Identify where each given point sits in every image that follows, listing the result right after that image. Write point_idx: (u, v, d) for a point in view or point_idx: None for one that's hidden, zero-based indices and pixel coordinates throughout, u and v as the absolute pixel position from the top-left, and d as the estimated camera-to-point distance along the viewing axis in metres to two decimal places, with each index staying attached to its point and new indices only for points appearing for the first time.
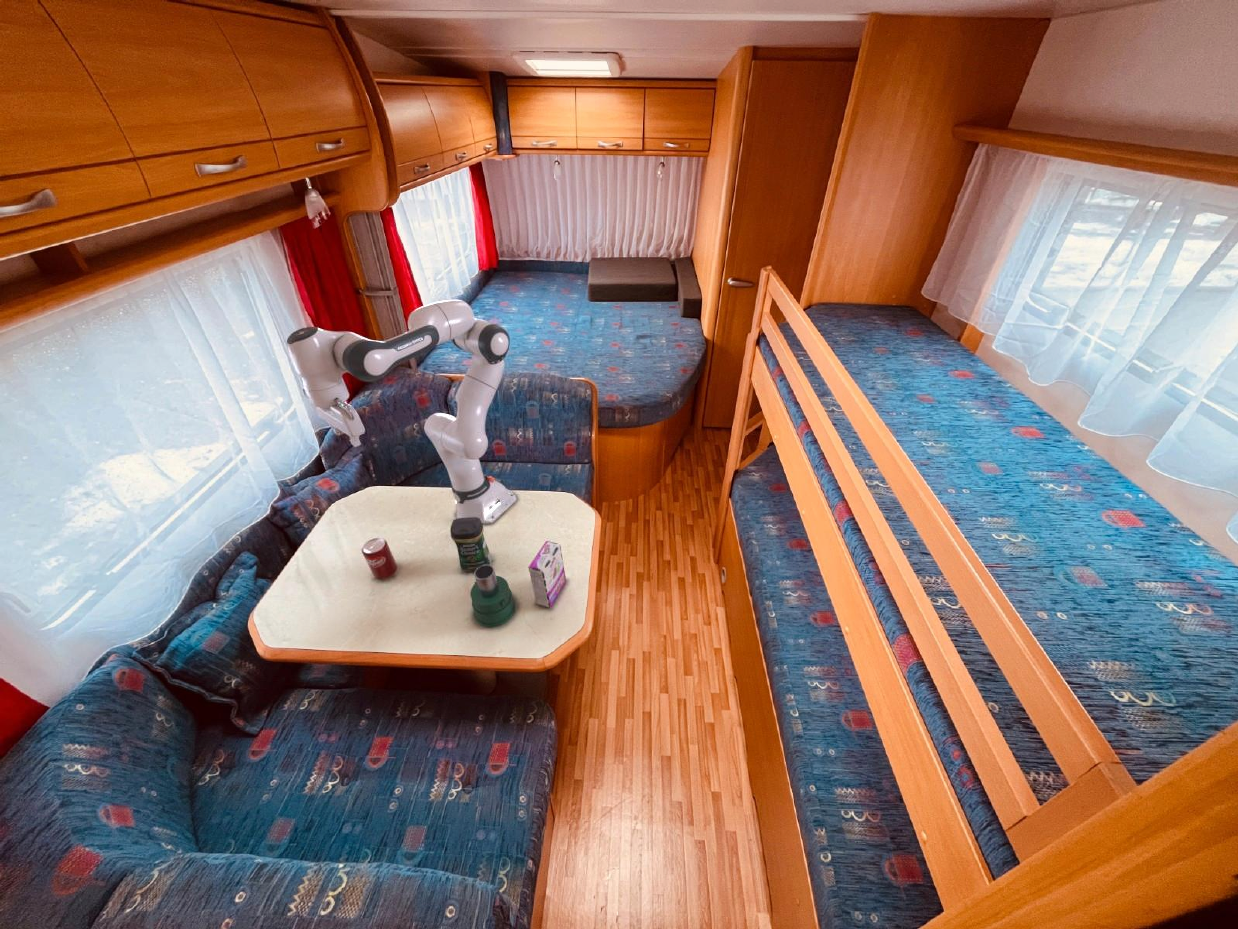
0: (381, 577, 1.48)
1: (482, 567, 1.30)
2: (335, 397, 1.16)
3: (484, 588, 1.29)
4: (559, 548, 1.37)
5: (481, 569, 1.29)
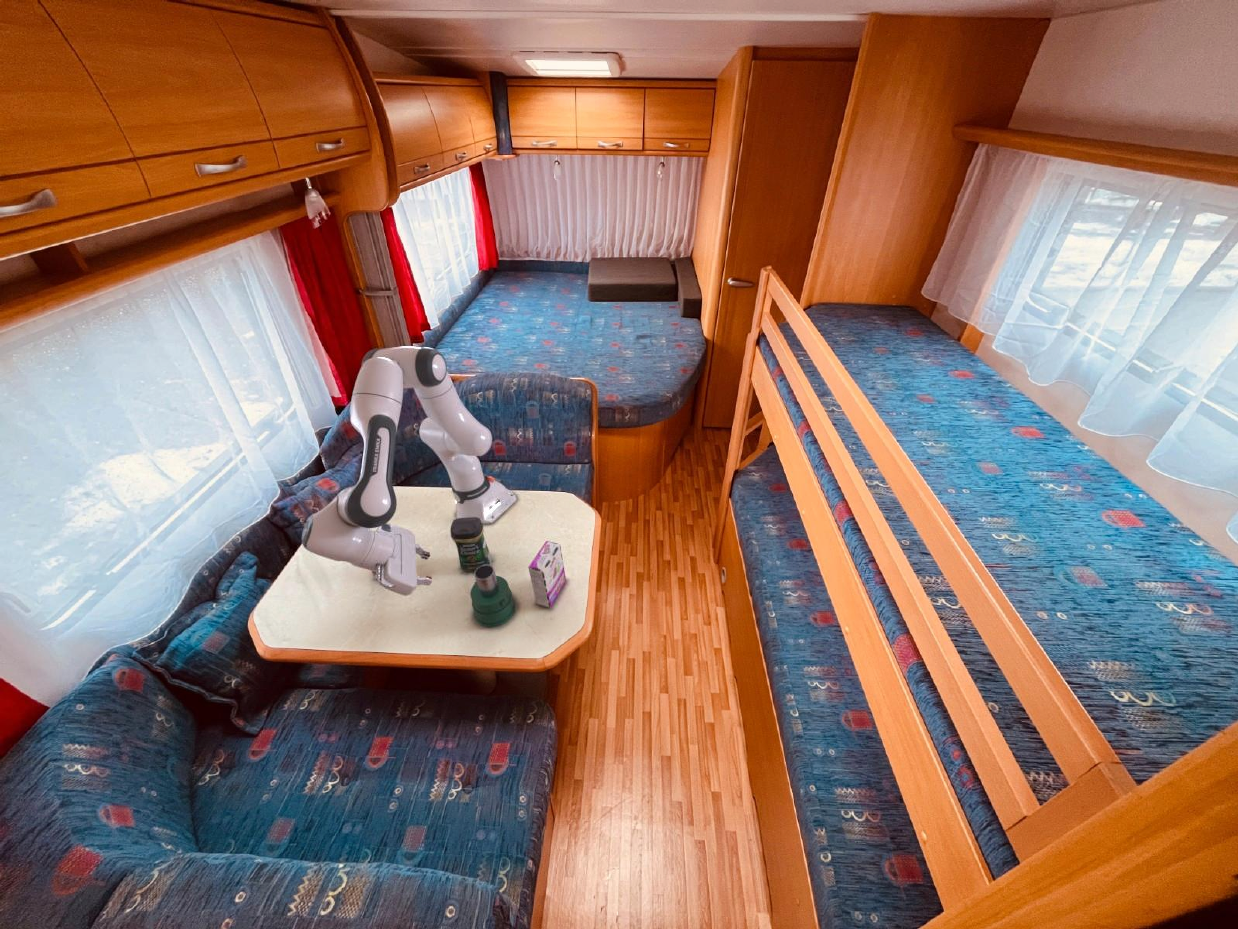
0: None
1: (482, 567, 1.30)
2: (375, 564, 1.09)
3: (484, 588, 1.29)
4: (559, 548, 1.37)
5: (481, 569, 1.29)
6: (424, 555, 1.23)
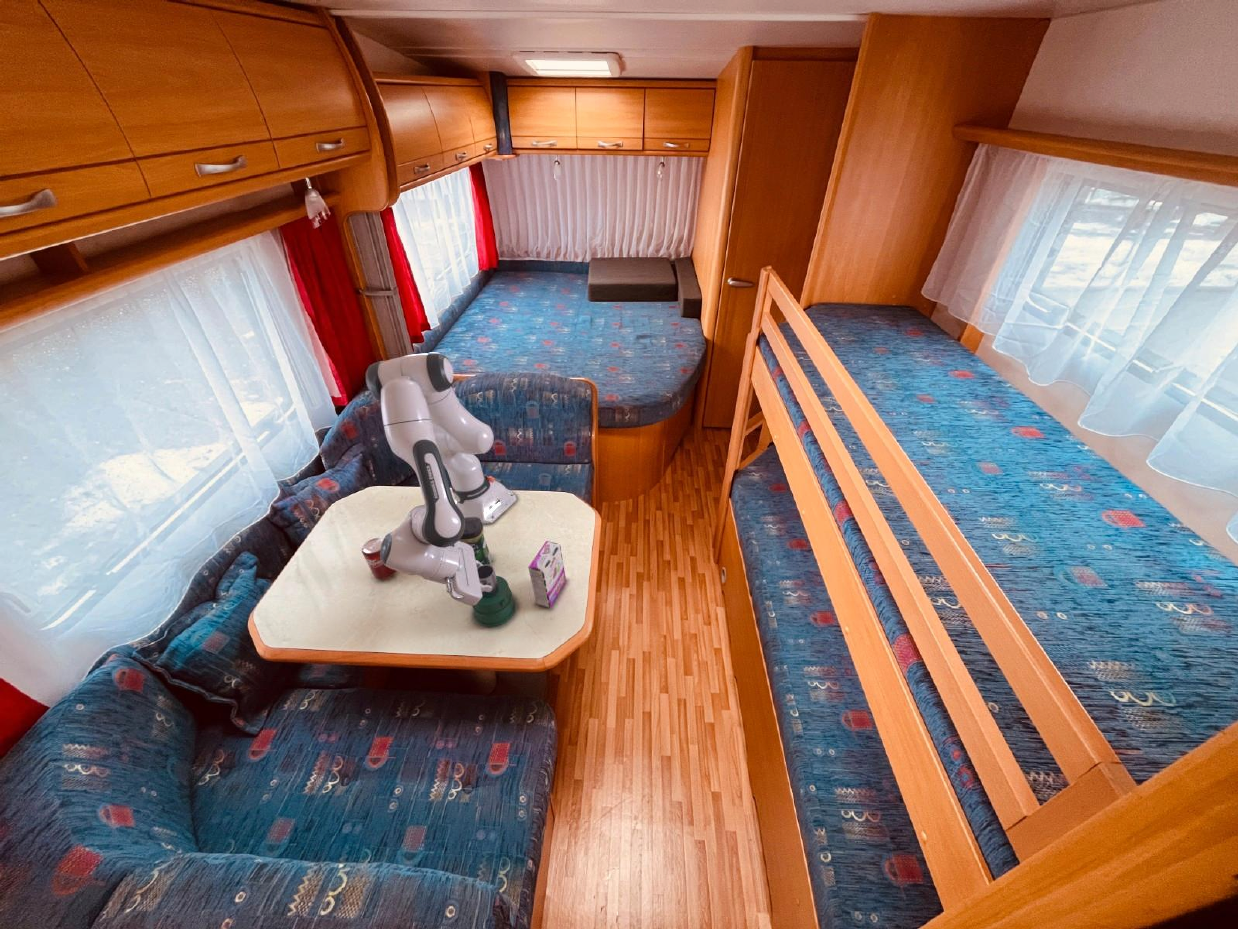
0: (381, 577, 1.48)
1: (482, 567, 1.30)
2: (444, 577, 1.19)
3: None
4: (559, 548, 1.37)
5: (481, 569, 1.29)
6: None
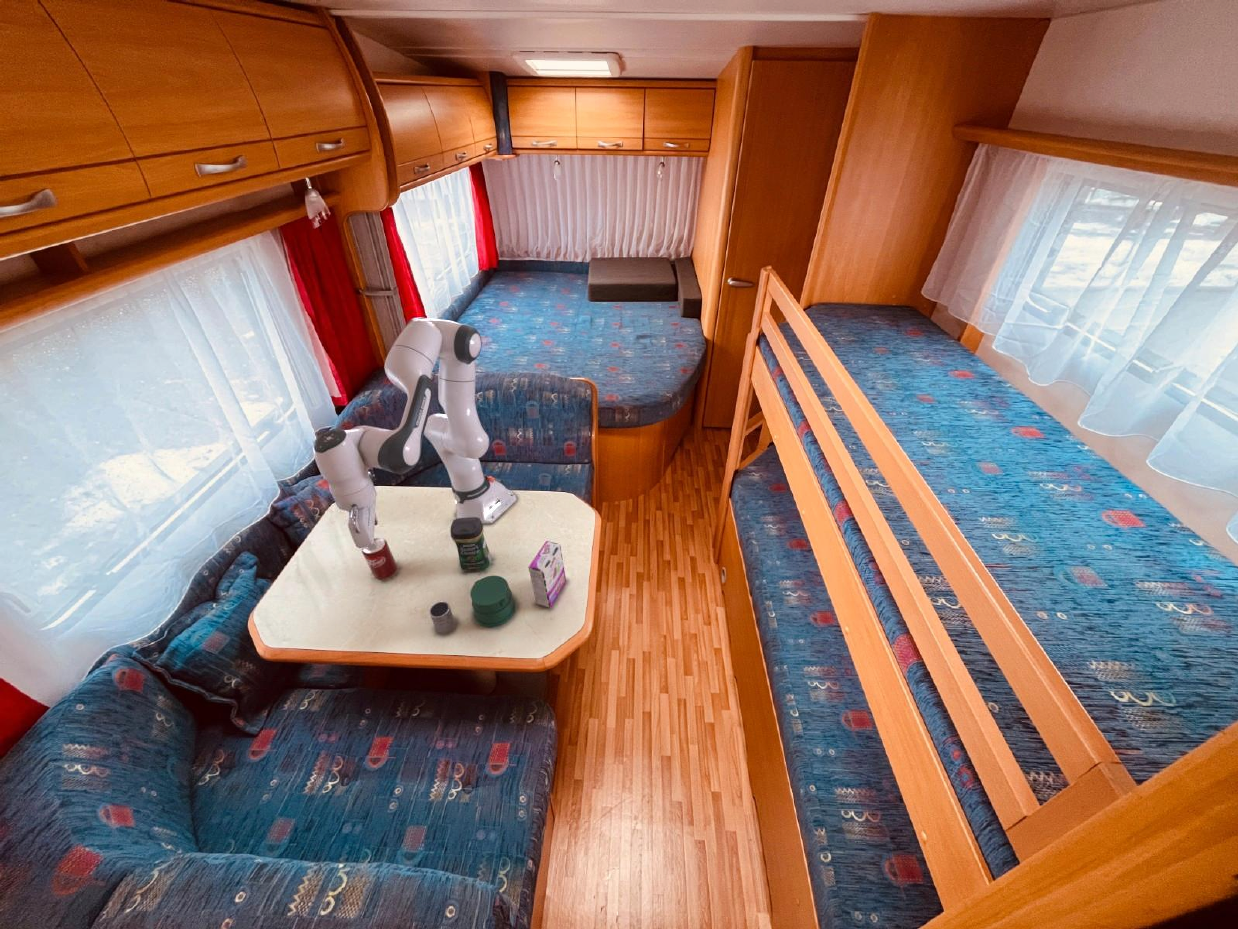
0: (381, 577, 1.48)
1: (438, 604, 1.31)
2: (352, 504, 1.09)
3: (439, 625, 1.30)
4: (559, 548, 1.37)
5: (437, 607, 1.31)
6: None
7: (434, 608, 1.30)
